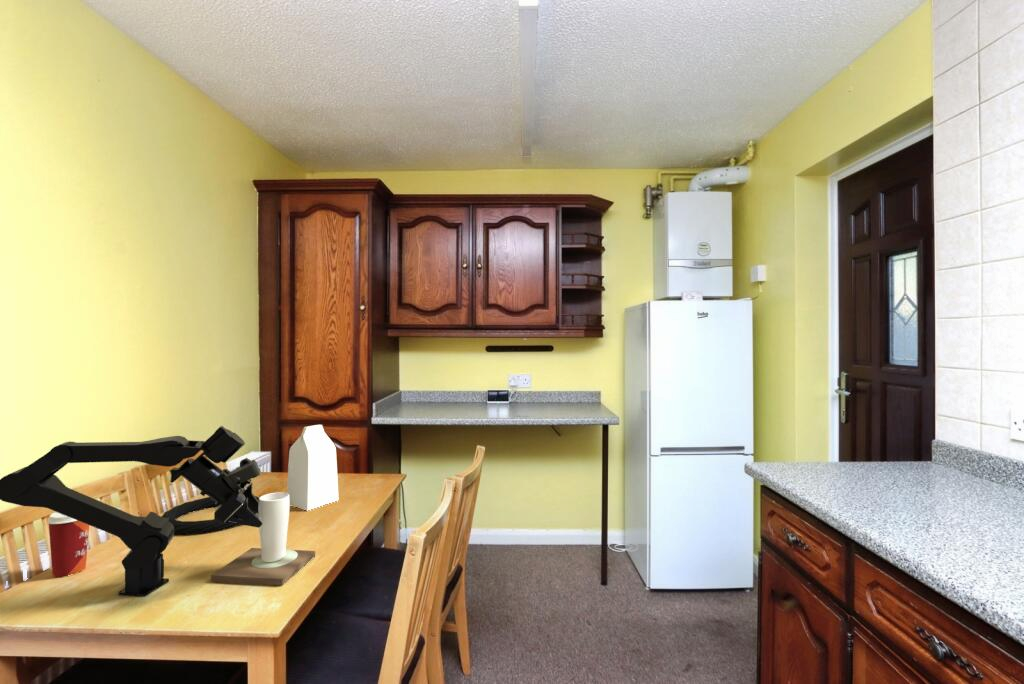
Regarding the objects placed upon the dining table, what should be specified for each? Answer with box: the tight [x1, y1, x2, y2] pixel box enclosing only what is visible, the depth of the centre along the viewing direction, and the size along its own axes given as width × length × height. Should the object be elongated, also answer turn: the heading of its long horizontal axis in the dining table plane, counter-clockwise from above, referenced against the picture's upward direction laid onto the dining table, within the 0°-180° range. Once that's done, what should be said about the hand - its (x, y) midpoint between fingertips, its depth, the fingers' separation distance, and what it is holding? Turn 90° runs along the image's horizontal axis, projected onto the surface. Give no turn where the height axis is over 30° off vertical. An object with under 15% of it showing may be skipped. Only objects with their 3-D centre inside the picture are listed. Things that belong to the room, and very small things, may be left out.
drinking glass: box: [258, 491, 291, 562], centre depth 112 cm, size 7×7×15 cm
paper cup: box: [46, 511, 90, 578], centre depth 109 cm, size 8×8×14 cm
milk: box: [286, 424, 340, 512], centre depth 156 cm, size 12×12×26 cm
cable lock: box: [160, 495, 260, 535], centre depth 142 cm, size 28×4×30 cm
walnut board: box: [210, 547, 316, 586], centre depth 110 cm, size 14×17×2 cm
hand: (262, 518), depth 111 cm, fingers open, 9 cm apart
